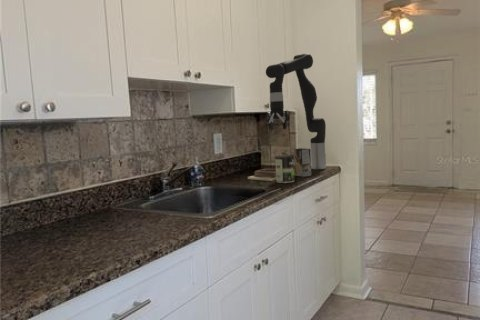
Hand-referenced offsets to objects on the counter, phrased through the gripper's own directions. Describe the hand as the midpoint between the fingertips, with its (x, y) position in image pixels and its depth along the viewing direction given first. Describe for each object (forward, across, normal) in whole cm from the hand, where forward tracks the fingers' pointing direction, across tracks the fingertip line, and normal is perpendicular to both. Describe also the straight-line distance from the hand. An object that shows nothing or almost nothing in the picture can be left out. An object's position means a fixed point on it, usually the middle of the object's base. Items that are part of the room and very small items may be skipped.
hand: (278, 129), depth 219 cm
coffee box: (+29, -7, -15) cm, 33 cm away
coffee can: (+29, -7, +7) cm, 30 cm away
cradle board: (+28, +8, -2) cm, 30 cm away
